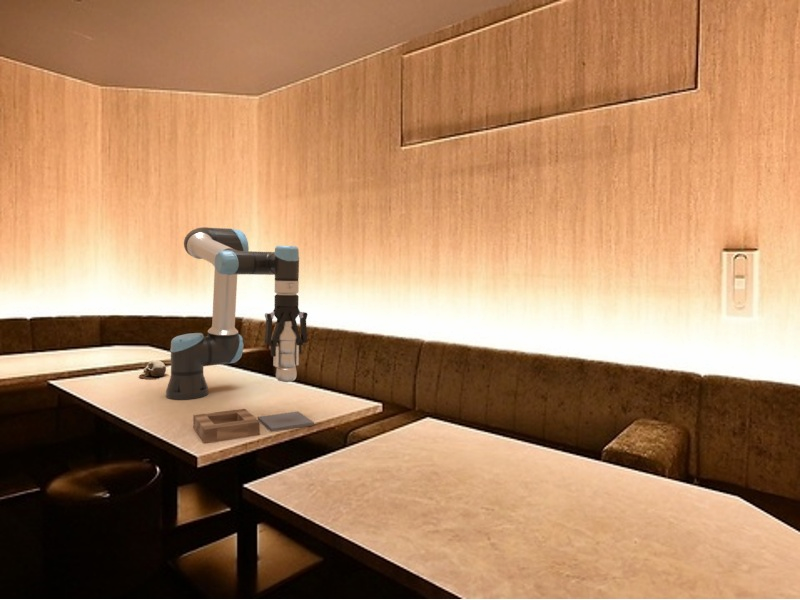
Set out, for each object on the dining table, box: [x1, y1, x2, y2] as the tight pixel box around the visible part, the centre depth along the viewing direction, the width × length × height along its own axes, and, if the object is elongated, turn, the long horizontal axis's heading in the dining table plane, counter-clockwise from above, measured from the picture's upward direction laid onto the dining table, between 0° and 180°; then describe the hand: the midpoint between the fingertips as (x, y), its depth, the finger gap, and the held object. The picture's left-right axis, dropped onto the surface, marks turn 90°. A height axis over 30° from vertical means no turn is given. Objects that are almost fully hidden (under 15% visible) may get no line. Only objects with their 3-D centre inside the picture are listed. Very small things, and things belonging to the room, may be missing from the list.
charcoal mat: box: [257, 411, 315, 432], centre depth 173 cm, size 14×14×1 cm
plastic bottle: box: [275, 321, 298, 383], centre depth 172 cm, size 6×7×20 cm
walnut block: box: [192, 408, 261, 444], centre depth 163 cm, size 16×16×4 cm
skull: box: [139, 359, 169, 380], centre depth 236 cm, size 12×10×10 cm
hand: (286, 365), depth 172 cm, fingers closed on plastic bottle, 6 cm apart
